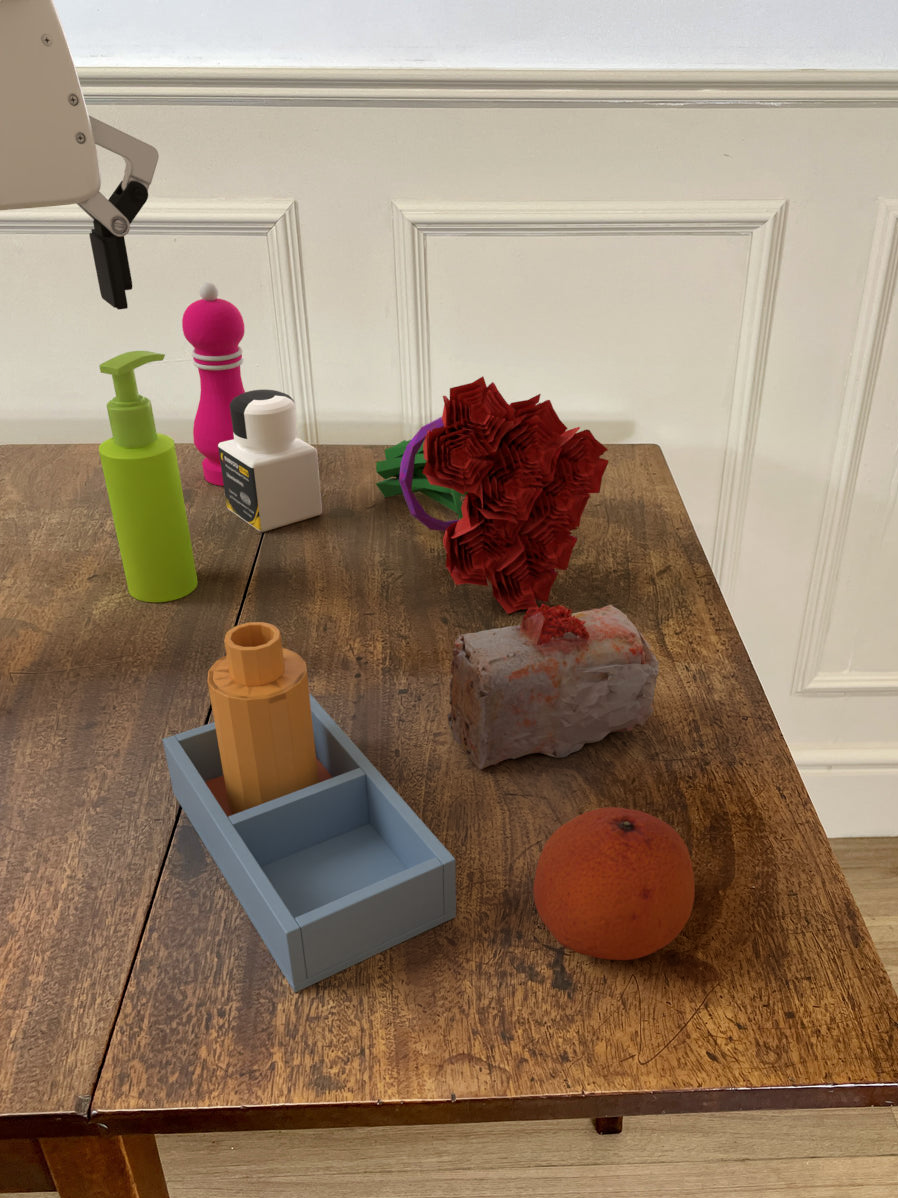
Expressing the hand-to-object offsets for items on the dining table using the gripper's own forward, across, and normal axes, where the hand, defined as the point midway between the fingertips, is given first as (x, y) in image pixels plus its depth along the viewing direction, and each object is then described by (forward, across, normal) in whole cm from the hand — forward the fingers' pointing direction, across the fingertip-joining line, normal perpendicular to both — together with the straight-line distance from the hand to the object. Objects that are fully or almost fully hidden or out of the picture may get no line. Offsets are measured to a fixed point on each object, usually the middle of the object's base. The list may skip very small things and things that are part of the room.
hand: (31, 314), depth 60 cm
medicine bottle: (+28, -23, -26) cm, 45 cm away
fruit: (+28, -17, +36) cm, 49 cm away
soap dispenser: (+28, -9, -17) cm, 34 cm away
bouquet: (+28, -35, -11) cm, 47 cm away
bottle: (+28, -5, +16) cm, 32 cm away
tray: (+28, -5, +21) cm, 36 cm away
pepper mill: (+28, -23, -37) cm, 52 cm away
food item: (+28, -25, +19) cm, 42 cm away
